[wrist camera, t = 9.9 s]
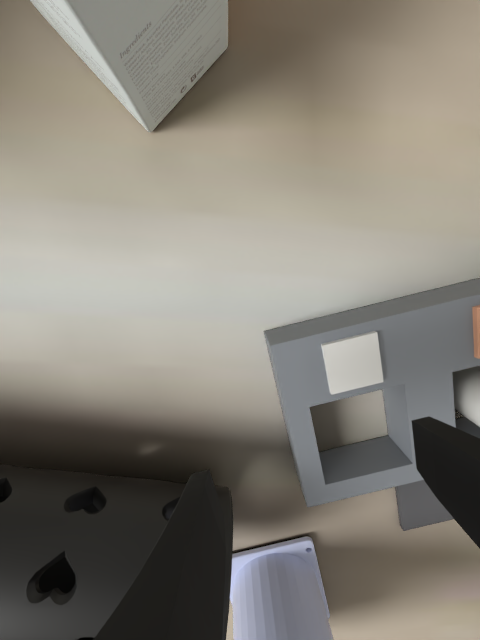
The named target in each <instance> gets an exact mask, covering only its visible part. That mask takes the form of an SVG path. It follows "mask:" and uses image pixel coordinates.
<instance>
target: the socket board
mask: <svg viewBox="0 0 480 640" xmlns="http://www.w3.org/2000/svg"><path fill="white" fill-rule="evenodd" d="M264 335H265V339H266V343H267V348H268V352H269V356H270V360H271V365H272V369H273V373H274V378H275V382H276V386H277V391H278V395H279V399H280V404H281V408H282V412H283V416H284V421H285V425H286V429H287V434H288V438H289V442H290V447H291V451H292V455H293V460H294V464H295V468H296V472H297V476H298V479H299V482H300V486H301V489H302V492H303V495H304V498H305V501H306V505H307V508H308V507H312V506H316V505H321V504H325V503H329V502H333V501H337V500H341V499H346V498H350V497H354V496H358V495H362V494H366V493H371V492H375V491H379V490H383V489H387V488H392V487H396V486H400V485H404V484H408V483H412V482H417V481H421V480H424V479H423V478H422V476H421V475H420V473H419V472H418V470H417V468H416V458H415V449H414V439H413V430H412V420H416V419H420V418H424V417H428V416H429V417H432V418H434V419H437V420H439V421H442V422H444V423H446V424H448V425H451V426H453V427H455V428H457V429H460V430H462V431H464V432H466V433H469V434H471V435H473V436H475V437H477V438H480V427H479V426H477V425H476V424H475V423H473V422H472V421H470V420H469V419H467V418H466V417H462V418H458V419H455V407H454V391H453V375H452V372H455V371H459V370H463V369H467V368H471V367H475V366H480V278H477V279H473V280H469V281H465V282H461V283H457V284H453V285H449V286H445V287H441V288H437V289H433V290H429V291H425V292H421V293H417V294H413V295H409V296H405V297H401V298H397V299H393V300H388V301H384V302H380V303H376V304H372V305H368V306H364V307H360V308H356V309H352V310H348V311H344V312H340V313H336V314H332V315H328V316H324V317H320V318H316V319H312V320H308V321H304V322H300V323H296V324H291V325H287V326H283V327H279V328H275V329H271V330H267V331H264ZM381 389H382V390H383V398H384V406H385V413H386V421H387V428H388V436H384V437H380V438H375V439H371V440H367V441H363V442H359V443H355V444H351V445H346V446H342V447H338V448H334V449H330V450H326V451H322V452H318V447H317V442H316V437H315V432H314V427H313V422H312V417H311V412H310V408H309V407H311V406H316V405H320V404H324V403H328V402H332V401H336V400H340V399H344V398H348V397H352V396H357V395H361V394H365V393H369V392H373V391H377V390H381Z"/></svg>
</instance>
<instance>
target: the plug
mask: <svg viewBox="0 0 480 640" xmlns="http://www.w3.org/2000/svg"><path fill="white" fill-rule="evenodd" d="M452 375H453V391H454V407H455V410H456V411H457V412H459V413H460V414H462V415H463V416H465V417H466V418H467V419H469V420H470V421H472V422H473V423H475V424H476V425H477V426H479V427H480V366H475V367H471V368H467V369H463V370H459V371H455V372H452Z"/></svg>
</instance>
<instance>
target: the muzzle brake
mask: <svg viewBox="0 0 480 640" xmlns="http://www.w3.org/2000/svg"><path fill="white" fill-rule="evenodd" d="M186 484H187V483H174V482H171V481H162V480H152V479H142V478H132V477H113V476H106V475H95V474H91V473H81V472H71V471H61V470H51V469H33V468H25V467H16V466H11V465H1V464H0V640H93V639H94V638H95V636H96V635H97V634H98V632H99V631H100V630H101V628H102V627H103V626H104V624H105V623H106V621H107V620H108V619H109V617H110V616H111V614H112V613H113V612H114V610H115V609H116V607H117V606H118V604H119V603H120V601H121V600H122V598H123V597H124V595H125V594H126V592H127V591H128V589H129V588H130V586H131V585H132V583H133V581H134V580H135V578H136V577H137V575H138V573H139V572H140V570H141V569H142V567H143V565H144V564H145V562H146V560H147V558H148V557H149V555H150V553H151V552H152V550H153V548H154V546H155V545H156V543H157V541H158V539H159V538H160V536H161V534H162V532H163V530H164V528H165V526H166V524H167V523H168V521H169V519H170V517H171V515H172V513H173V511H174V509H175V507H176V505H177V503H178V501H179V499H180V497H181V495H182V493H183V491H184V489H185V487H186ZM215 489H216V492H217V495H218V498H219V501H220V505H221V508H222V511H223V514H224V524H225V542H226V560H225V585H224V608H223V631H222V640H226V632H227V623H228V613H229V601H230V588H231V572H232V548H233V510H232V497H231V492H230V490H229V488H228V487H222V486H215Z"/></svg>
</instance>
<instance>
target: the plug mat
mask: <svg viewBox="0 0 480 640" xmlns="http://www.w3.org/2000/svg"><path fill="white" fill-rule="evenodd" d="M395 490H396V497H397V505H398V513H399V520H400V526H401V527H402V529H403V531H405V530H410V529H414V528H418V527H422V526H426V525H431V524H435V523H439V522H443V521H447V520H452V519H454V518H453V517H452V516H451V514H450V513H449V512H448V511H447V510H446V509H445V507H444V506H443V505H442V504H441V503H440V501H439V500H438V499H437V498H436V496H435V495H434V494H433V492H432V491H431V489H430V488H429V486H428V485H427V484H426V482H425V481H424V480H421V481H417V482H412V483H408V484H404V485H400V486H396V487H395Z"/></svg>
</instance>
